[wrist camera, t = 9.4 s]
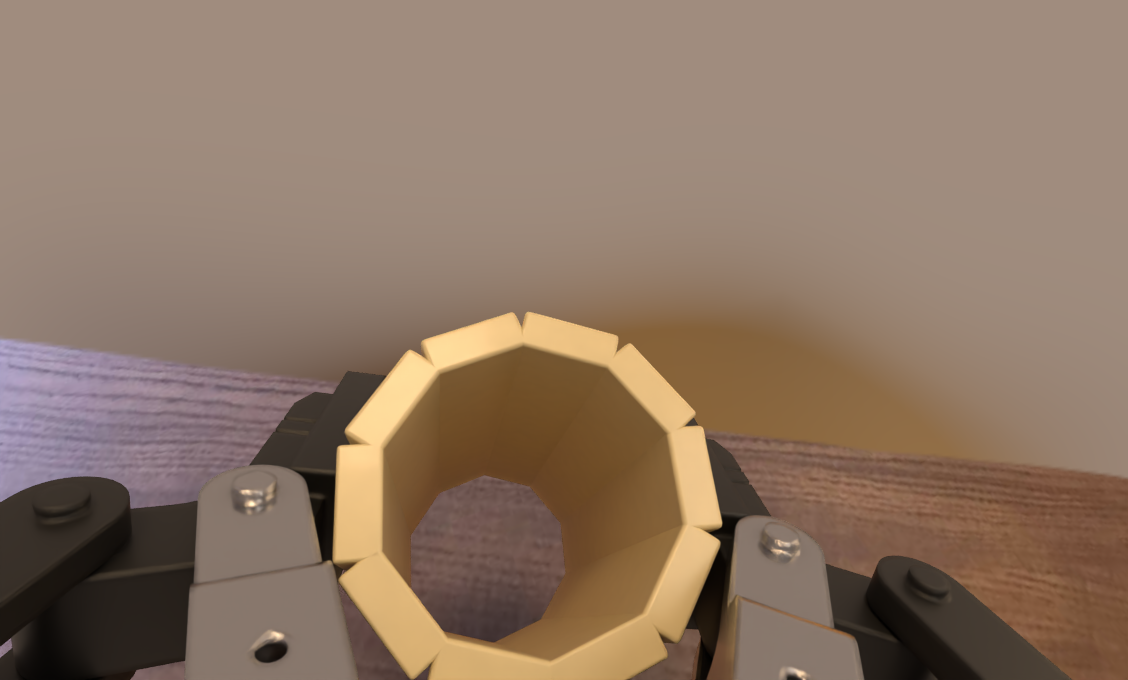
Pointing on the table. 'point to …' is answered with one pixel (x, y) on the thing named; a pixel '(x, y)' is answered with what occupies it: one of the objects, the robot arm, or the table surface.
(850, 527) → the table surface
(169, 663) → the robot arm
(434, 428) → the slatted wooden tube
